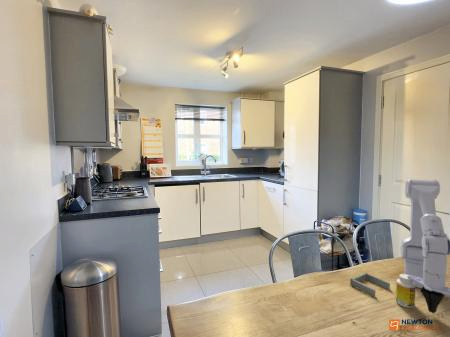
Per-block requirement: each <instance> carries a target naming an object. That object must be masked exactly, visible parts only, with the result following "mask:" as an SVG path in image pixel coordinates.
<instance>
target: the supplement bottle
mask: <svg viewBox="0 0 450 337" xmlns="http://www.w3.org/2000/svg"><path fill="white" fill-rule="evenodd" d="M407 276H408V275H407V274H404V273H401V274H399V278H397V279H396V285H395V286H396V288H395V301H396V303H397V304H398V305H400V306H401V307H404V308H409V309H411V308H414V307H415V305H416V288H417V287H416V285H415V283H413V282H412V281H411V282H410V279H408V278H407Z"/></svg>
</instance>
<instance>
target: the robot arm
mask: <svg viewBox="0 0 450 337" xmlns="http://www.w3.org/2000/svg"><path fill="white" fill-rule="evenodd" d="M404 189H405V190H404V191H405V192H404V196H405V198H407V199H410V222H409V223H410V227H409V236H408V237H405V238H402V239H401V245H400V257H401V258H402V259H404V265H403V266H404V269H403V274H407V275H408V276H407V278H408V279H410V282H411V281H412V282H413V283H415V285H416V288H419V289H420V292H421V294H422V296H423V298H424V300H425V303H426V305H427V309H428V312H430V313H432V314H435V313H436V312H437V310H438V308H439V305H440V303H441V302H442V300H443V299H444V297H445V296H446V297H449V298H450V287H449V286H447V285H446V281H447V266H448V265H447V264H448V262H447V261H448V256H450V237H449V236H448V234H447V233H445V229H444V225H443V221H442V218H441V217H440V216H438V215H437V212H436V211H437V210H436V199H437V198H438V197H439V196H438V195H440V190H441V185H440V182H439V181H438V180H437V179H411V178H408V179H406V181H405V187H404Z"/></svg>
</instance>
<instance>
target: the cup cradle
mask: <svg viewBox="0 0 450 337" xmlns="http://www.w3.org/2000/svg"><path fill="white" fill-rule="evenodd" d="M349 280H350V283H349V284H350V286H352V287H354V288H356V289H358V290H360V291H362V292H363V293H366V294H367V295H369V296H372V297H373V298H375V297H376V289H375V288H372V287H370V286H368V285H366V284H364V283H362V282H364V281H369V282H371V283H374V284H375V285H378V286H379V287H382V288H384V289H387V291H388V290H390V289H391V283H390V282H389V281H386V280H384V279H382V278H379V277H377V276H375V275H372V274H370V273H368V272H364V273H362V274H359V275H356V276H355V277H352V278H350V279H349Z"/></svg>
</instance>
